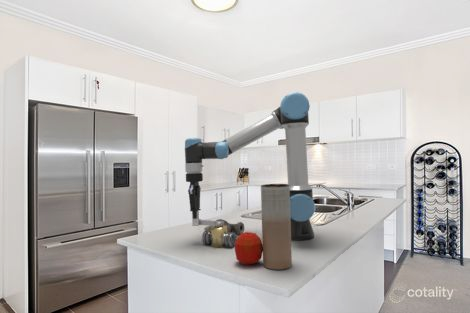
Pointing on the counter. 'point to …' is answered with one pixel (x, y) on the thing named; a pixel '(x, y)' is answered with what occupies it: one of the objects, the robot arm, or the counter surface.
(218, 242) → the valve pipe
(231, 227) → the pipe
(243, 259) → the apple
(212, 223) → the lever
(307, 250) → the counter surface
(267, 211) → the vase
